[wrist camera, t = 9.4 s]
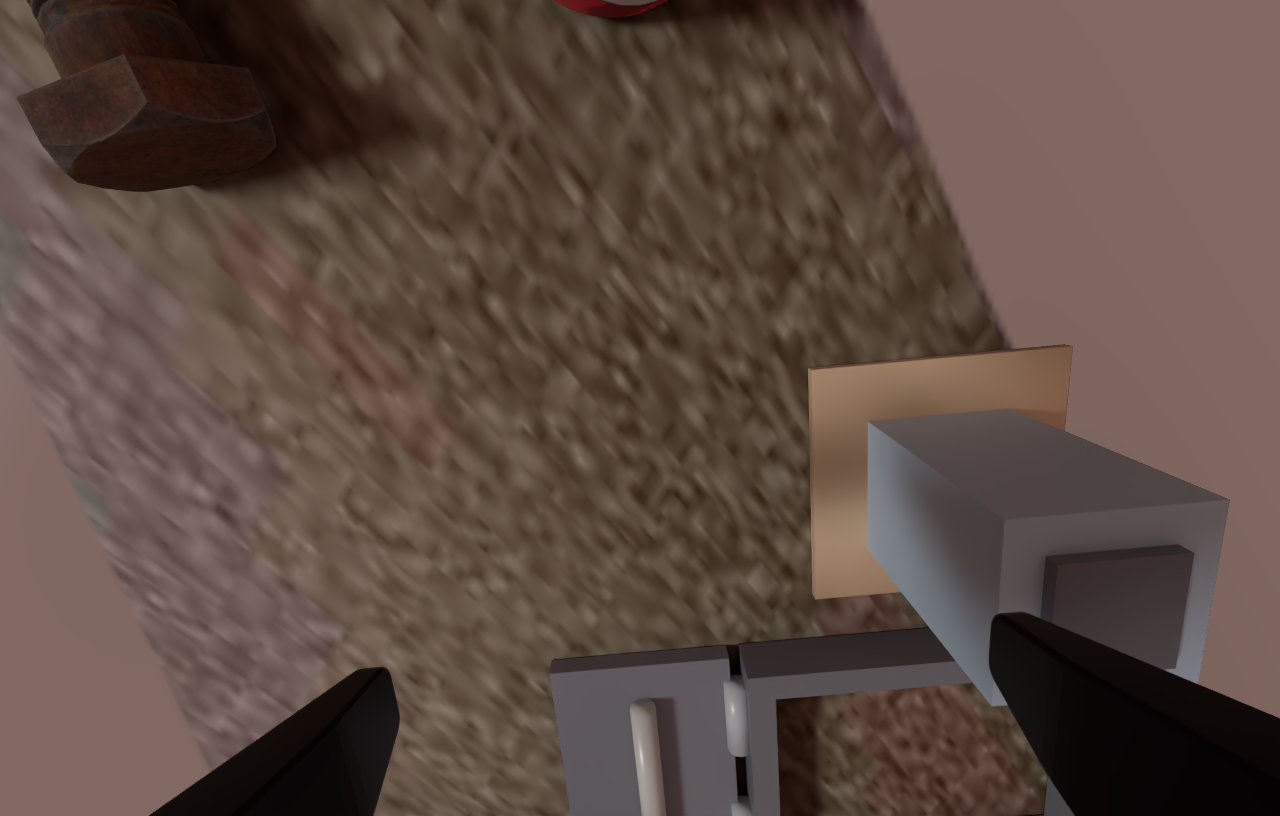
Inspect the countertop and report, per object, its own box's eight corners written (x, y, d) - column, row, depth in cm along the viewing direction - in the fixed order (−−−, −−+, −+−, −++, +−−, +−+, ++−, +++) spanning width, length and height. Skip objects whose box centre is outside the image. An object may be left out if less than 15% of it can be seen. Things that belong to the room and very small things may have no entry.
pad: (1043, 573, 23) (1050, 578, 23) (812, 593, 23) (815, 599, 23) (1064, 344, 21) (1072, 346, 20) (808, 367, 21) (811, 370, 21)
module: (1000, 536, 22) (1212, 700, 14) (867, 548, 22) (1001, 718, 14) (1009, 408, 21) (1247, 507, 13) (868, 421, 21) (1015, 528, 13)
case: (1064, 830, 26) (1099, 876, 24) (583, 869, 27) (579, 918, 25) (1090, 613, 24) (1131, 646, 22) (552, 659, 24) (544, 696, 22)
